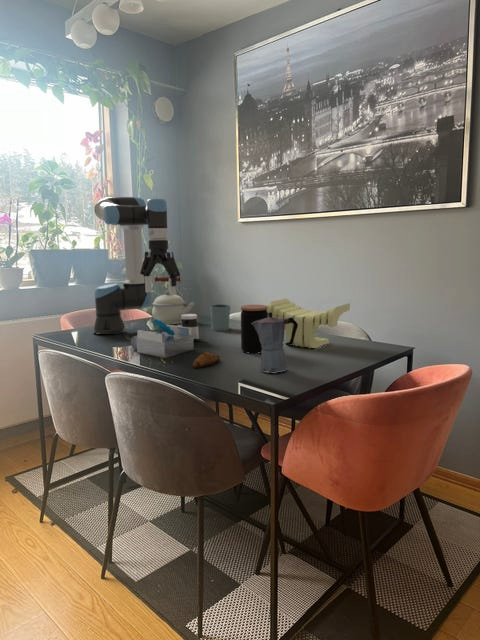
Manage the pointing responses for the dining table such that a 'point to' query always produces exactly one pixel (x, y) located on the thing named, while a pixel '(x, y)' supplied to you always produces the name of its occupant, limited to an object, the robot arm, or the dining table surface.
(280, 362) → the moka pot
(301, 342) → the beige slatted piece
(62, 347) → the dining table surface
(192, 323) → the spread jar
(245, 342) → the coffee jar
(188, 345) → the storage box
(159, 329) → the blue irregular piece
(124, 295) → the robot arm
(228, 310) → the teal tumbler cup
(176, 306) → the kettle
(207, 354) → the croissant
